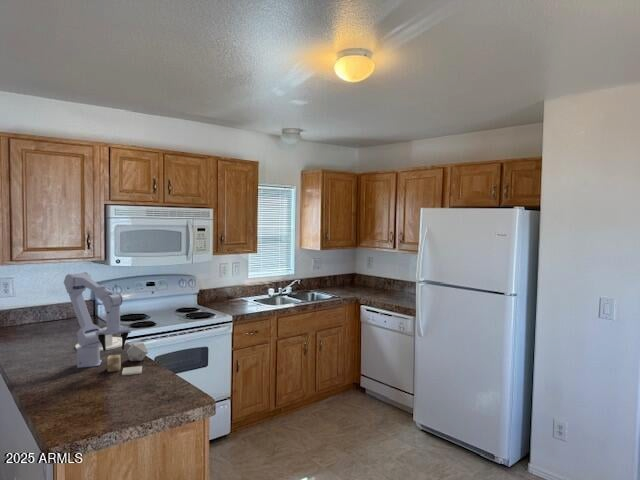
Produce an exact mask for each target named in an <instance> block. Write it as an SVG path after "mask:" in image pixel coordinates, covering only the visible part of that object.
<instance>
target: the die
mask: <svg viewBox="0 0 640 480" xmlns="http://www.w3.org/2000/svg"><path fill="white" fill-rule="evenodd" d="M148 353H149V351H148V349H147V348H146V344H145V343H144V342H132V343H131V345H130V346H129V348H128V349H127V350H126V354H127V355H128V356H127V357H128V358H129V360H130V362H142V361H143V360H144V358H145V357H146V356H147V354H148Z"/></svg>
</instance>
